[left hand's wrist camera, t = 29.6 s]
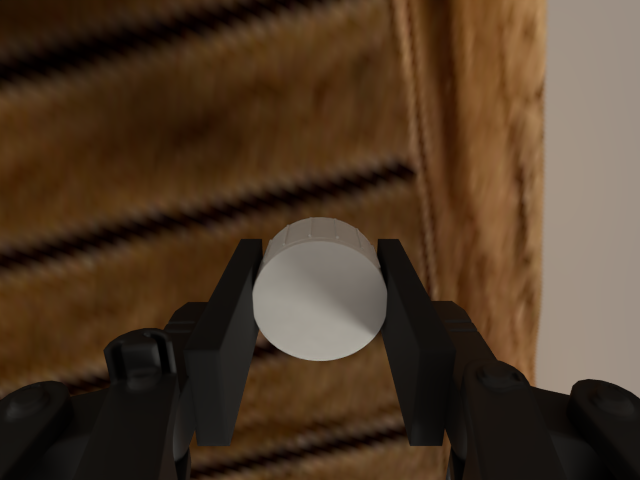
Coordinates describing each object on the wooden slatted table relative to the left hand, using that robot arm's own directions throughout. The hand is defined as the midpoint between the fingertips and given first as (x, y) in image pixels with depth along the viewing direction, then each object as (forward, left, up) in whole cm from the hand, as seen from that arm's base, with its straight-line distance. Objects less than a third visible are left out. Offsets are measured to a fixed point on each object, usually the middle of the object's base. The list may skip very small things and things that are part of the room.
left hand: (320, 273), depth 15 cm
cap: (0, 0, +2) cm, 2 cm away
